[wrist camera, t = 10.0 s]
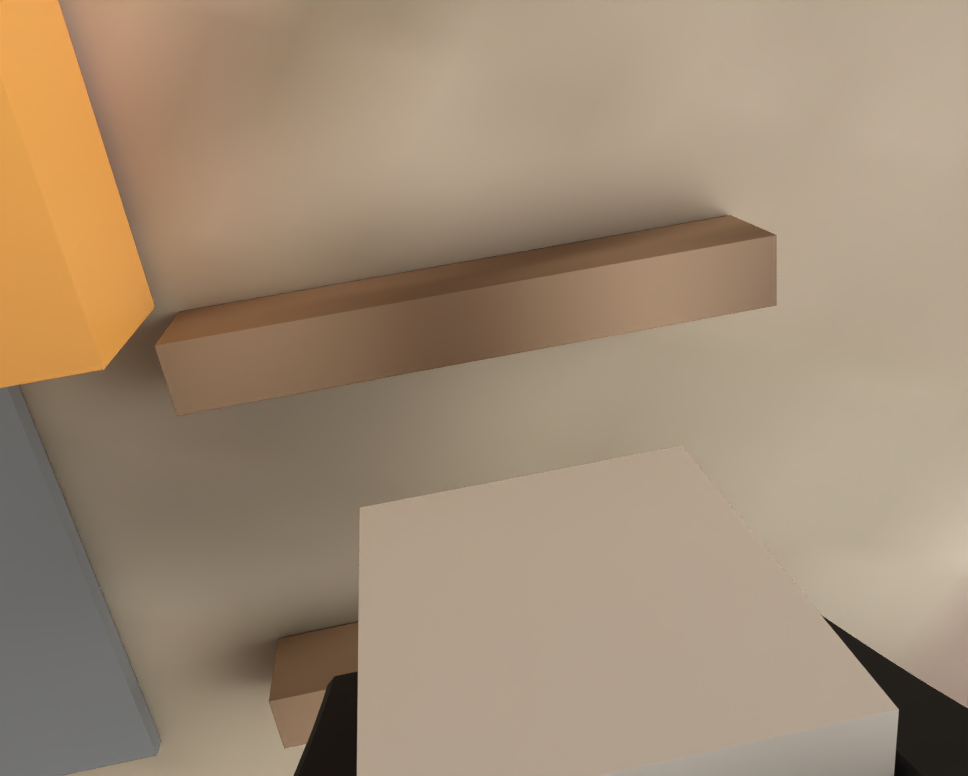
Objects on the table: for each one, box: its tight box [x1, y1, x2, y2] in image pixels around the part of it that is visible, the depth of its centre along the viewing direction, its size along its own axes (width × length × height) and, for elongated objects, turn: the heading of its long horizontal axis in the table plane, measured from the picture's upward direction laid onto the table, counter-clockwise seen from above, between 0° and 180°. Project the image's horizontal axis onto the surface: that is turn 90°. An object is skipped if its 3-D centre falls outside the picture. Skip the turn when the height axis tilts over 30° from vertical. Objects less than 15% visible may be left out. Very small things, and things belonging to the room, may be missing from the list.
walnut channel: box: [155, 215, 776, 748], centre depth 15 cm, size 10×8×2 cm
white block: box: [357, 445, 899, 776], centre depth 10 cm, size 4×4×5 cm
